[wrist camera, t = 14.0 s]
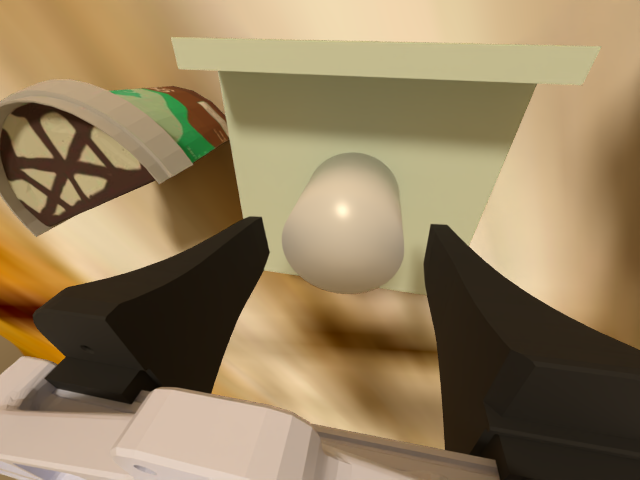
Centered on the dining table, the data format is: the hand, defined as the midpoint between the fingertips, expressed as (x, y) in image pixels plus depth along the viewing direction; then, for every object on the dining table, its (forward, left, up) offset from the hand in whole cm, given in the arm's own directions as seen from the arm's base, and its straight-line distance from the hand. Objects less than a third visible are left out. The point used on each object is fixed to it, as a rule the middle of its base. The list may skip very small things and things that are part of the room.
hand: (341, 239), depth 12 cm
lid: (0, 0, -5) cm, 5 cm away
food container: (+15, -2, -11) cm, 19 cm away
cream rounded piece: (0, 0, -4) cm, 5 cm away
